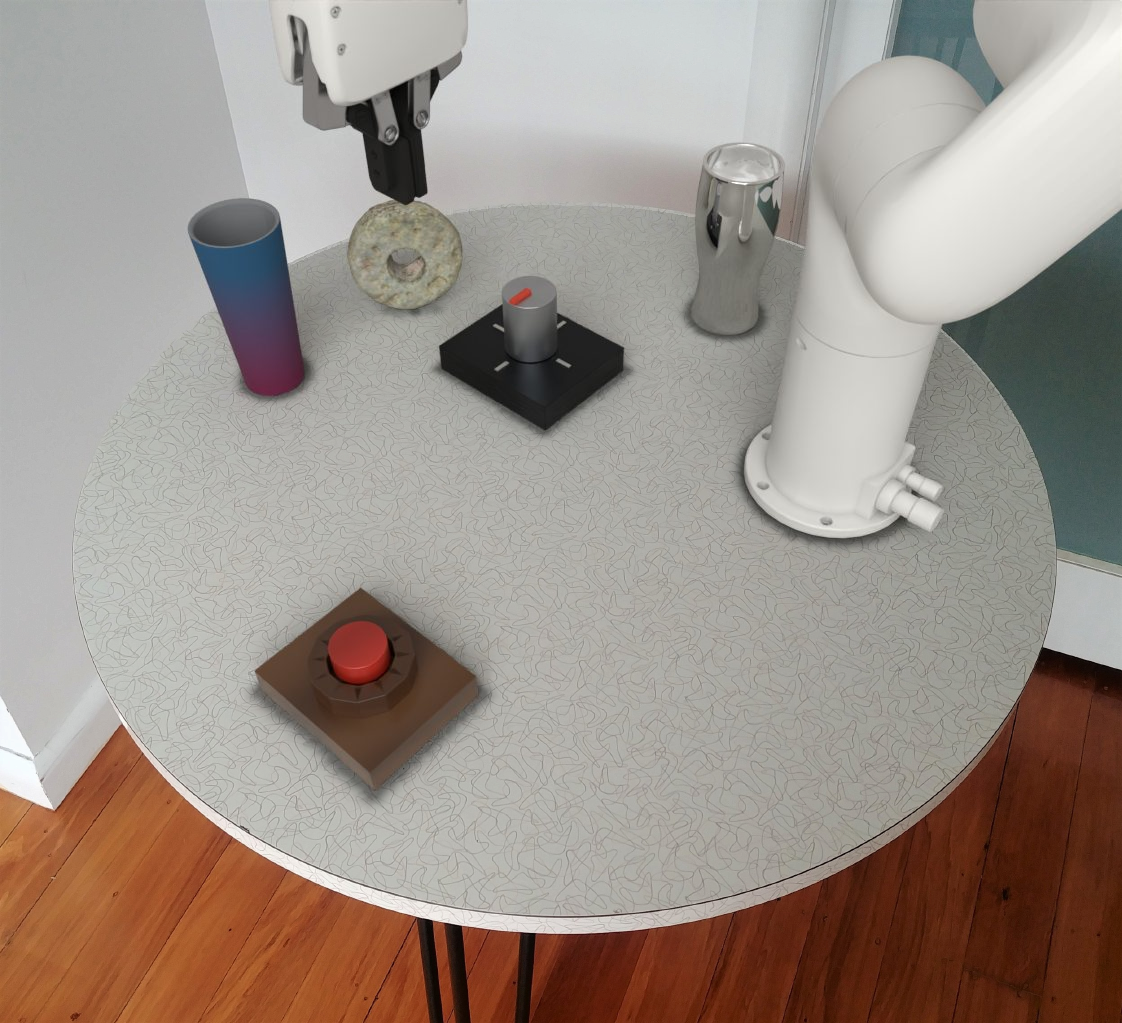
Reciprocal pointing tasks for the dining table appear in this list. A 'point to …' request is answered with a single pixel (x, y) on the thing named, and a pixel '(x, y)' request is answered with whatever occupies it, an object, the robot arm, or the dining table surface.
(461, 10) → the robot arm
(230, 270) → the cup
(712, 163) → the beer glass
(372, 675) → the button
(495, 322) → the plate
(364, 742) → the button block
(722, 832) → the dining table surface
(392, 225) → the stone ring
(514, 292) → the tap knob
